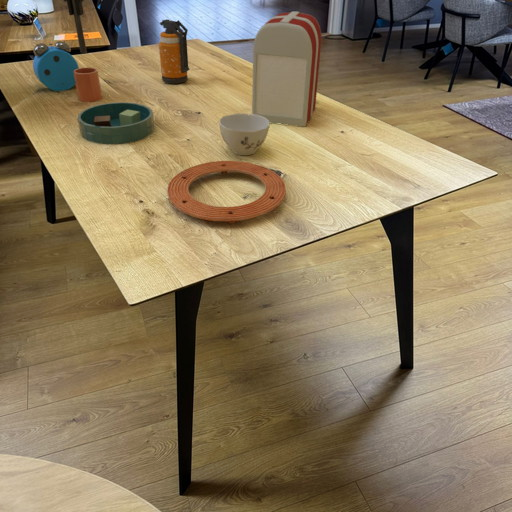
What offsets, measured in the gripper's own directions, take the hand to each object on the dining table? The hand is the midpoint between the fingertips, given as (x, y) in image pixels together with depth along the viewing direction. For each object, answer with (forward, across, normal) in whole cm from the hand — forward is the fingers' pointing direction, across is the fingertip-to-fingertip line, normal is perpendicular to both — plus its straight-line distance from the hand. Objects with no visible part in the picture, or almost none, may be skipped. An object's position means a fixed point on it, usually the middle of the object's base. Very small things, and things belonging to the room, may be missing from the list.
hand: (76, 14), depth 137 cm
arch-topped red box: (+25, -61, +7) cm, 66 cm away
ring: (+25, -47, +59) cm, 80 cm away
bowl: (+25, -15, +25) cm, 38 cm away
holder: (+25, +1, -2) cm, 25 cm away
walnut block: (+24, -12, +27) cm, 38 cm away
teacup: (+25, -50, +34) cm, 65 cm away
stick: (+10, 0, 0) cm, 10 cm away
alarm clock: (+25, +14, -11) cm, 31 cm away
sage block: (+24, -18, +22) cm, 37 cm away
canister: (+25, -23, -23) cm, 41 cm away
